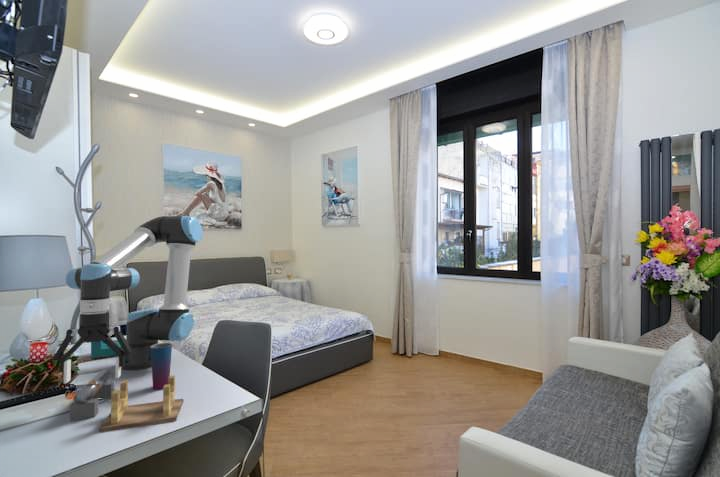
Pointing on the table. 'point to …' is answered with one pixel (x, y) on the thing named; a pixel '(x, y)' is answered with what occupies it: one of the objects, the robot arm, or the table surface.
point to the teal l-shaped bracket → (102, 349)
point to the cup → (160, 364)
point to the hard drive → (83, 379)
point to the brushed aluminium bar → (92, 387)
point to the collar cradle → (142, 409)
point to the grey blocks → (91, 403)
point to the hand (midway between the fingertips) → (93, 379)
